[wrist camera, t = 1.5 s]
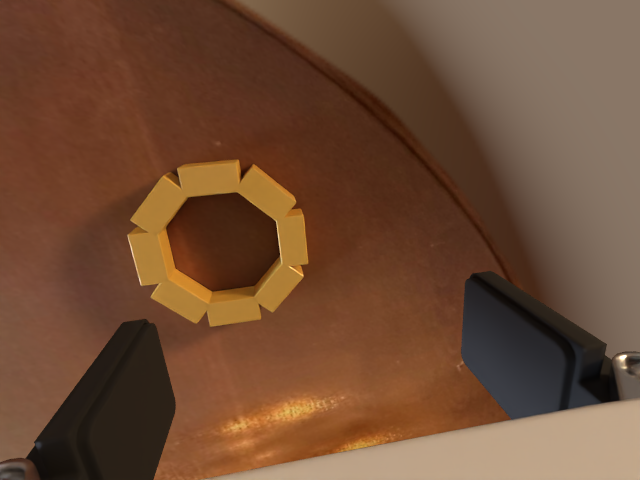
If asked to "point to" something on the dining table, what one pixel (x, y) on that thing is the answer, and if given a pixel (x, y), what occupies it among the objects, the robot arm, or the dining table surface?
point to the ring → (184, 291)
